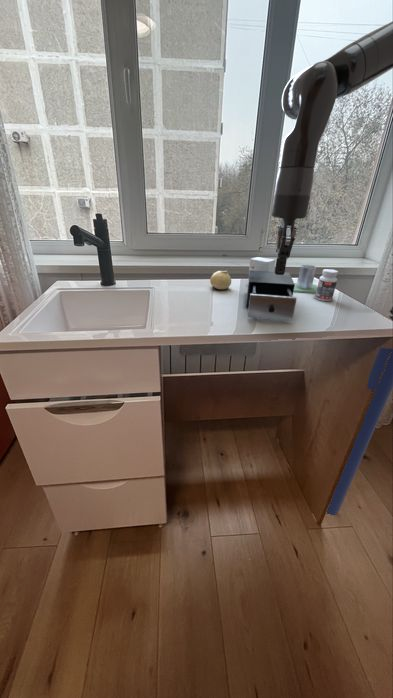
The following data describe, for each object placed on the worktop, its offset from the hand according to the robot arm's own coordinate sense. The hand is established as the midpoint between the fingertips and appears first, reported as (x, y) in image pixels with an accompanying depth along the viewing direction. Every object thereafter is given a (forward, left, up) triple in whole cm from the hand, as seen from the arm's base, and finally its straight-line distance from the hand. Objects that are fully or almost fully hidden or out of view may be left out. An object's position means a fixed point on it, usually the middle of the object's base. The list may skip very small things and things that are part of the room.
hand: (279, 274), depth 70 cm
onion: (+17, -35, -15) cm, 42 cm away
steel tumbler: (-15, -42, -15) cm, 47 cm away
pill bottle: (-20, -31, -15) cm, 40 cm away
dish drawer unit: (0, -23, -15) cm, 28 cm away
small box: (+2, -41, -15) cm, 44 cm away
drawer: (0, -12, -14) cm, 18 cm away
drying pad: (-15, -42, -15) cm, 47 cm away
